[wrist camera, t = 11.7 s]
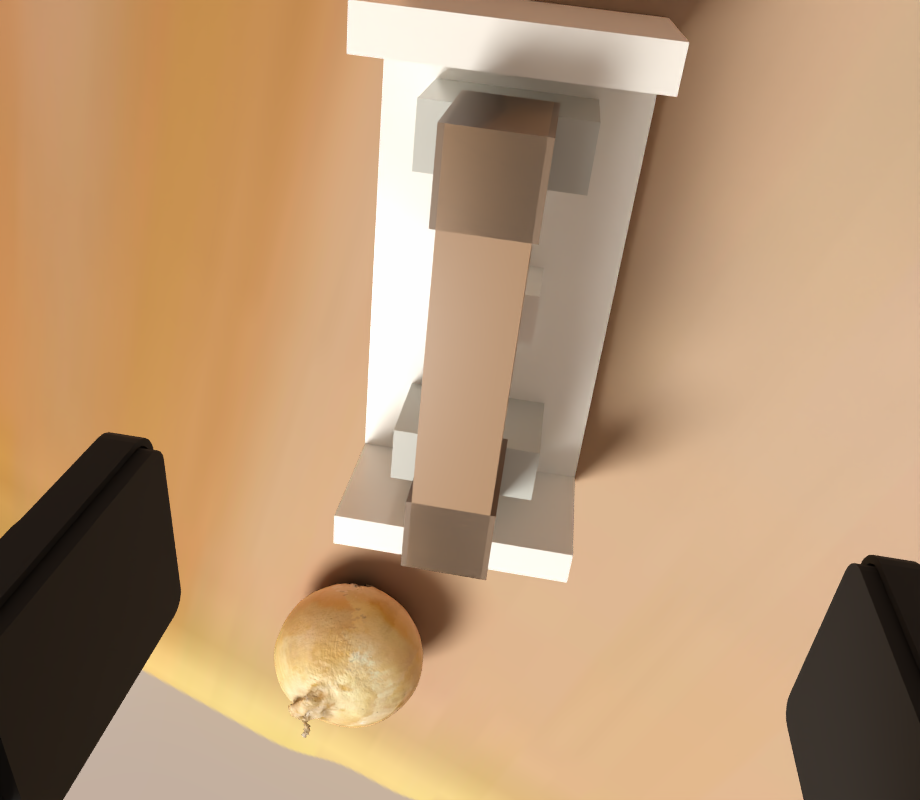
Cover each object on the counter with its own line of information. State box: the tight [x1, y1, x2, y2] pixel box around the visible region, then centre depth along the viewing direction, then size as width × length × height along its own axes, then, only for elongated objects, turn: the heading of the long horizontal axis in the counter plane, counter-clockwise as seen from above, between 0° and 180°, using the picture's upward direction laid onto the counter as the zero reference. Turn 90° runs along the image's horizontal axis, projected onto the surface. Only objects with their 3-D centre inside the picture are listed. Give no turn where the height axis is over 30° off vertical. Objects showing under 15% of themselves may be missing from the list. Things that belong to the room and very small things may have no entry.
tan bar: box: [401, 90, 560, 580], centre depth 28 cm, size 3×16×5 cm, turn 174°
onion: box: [274, 583, 423, 738], centre depth 44 cm, size 8×8×7 cm
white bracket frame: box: [334, 0, 689, 583], centre depth 32 cm, size 10×21×7 cm, turn 174°
